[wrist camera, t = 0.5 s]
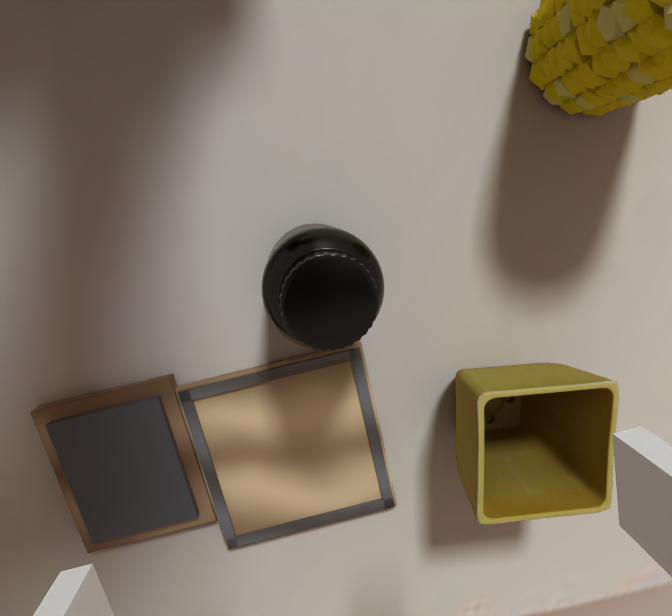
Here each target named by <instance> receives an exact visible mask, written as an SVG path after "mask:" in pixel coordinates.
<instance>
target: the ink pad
mask: <svg viewBox="0 0 672 616" xmlns="http://www.w3.org/2000/svg"><path fill="white" fill-rule="evenodd" d="M45 426H46V429H47V431H48V434H49V436H50V439H51V441H52V444H53V446H54V449H55V451H56V453H57V456H58V458H59V461H60V463H61V466H62V468H63V471H64V473H65V476H66V478H67V481H68V483H69V486H70V488H71V491H72V493H73V496H74V498H75V501H76V503H77V506H78V508H79V511H80V513H81V515H82V518H83V520H84V523H85V525H86V528H87V530H88V533H89V535H90V538H91V540H92V543H93V544H97V543H101V542H105V541H109V540H113V539H117V538H121V537H125V536H129V535H132V534H136V533H140V532H144V531H148V530H152V529H156V528H160V527H164V526H168V525H172V524H176V523H180V522H184V521H188V520H191V519H195V518H198V516H199V513H200V512H199V509H198V506H197V503H196V500H195V497H194V494H193V491H192V488H191V485H190V482H189V480H188V477H187V474H186V471H185V468H184V465H183V462H182V459H181V456H180V453H179V450H178V447H177V444H176V441H175V438H174V435H173V432H172V429H171V426H170V423H169V420H168V417H167V414H166V411H165V408H164V405H163V402H162V399H161V396H160V395H157V396H152V397H148V398H144V399H140V400H136V401H132V402H128V403H124V404H120V405H115V406H111V407H107V408H103V409H99V410H95V411H91V412H87V413H83V414H79V415H74V416H70V417H66V418H62V419H58V420H54V421H50V422H48V423H47V424H46V425H45Z"/></svg>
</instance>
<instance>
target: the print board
mask: <svg viewBox="0 0 672 616" xmlns="http://www.w3.org/2000/svg"><path fill="white" fill-rule="evenodd" d="M175 390H176V393H177V397H178V400H179V403H180V406H181V409H182V412H183V415H184V418H185V421H186V424H187V427H188V430H189V433H190V436H191V439H192V443H193V446H194V449H195V452H196V455H197V458H198V461H199V464H200V467H201V470H202V473H203V476H204V479H205V482H206V485H207V488H208V492H209V495H210V498H211V501H212V504H213V507H214V510H215V513H216V516H217V519H218V522H219V525H220V528H221V531H222V534H223V537H224V541H225V544H226V547H227V549H231V548H235V547H239V546H242V545H246V544H250V543H254V542H258V541H262V540H266V539H270V538H273V537H277V536H281V535H285V534H289V533H293V532H297V531H301V530H305V529H308V528H312V527H316V526H320V525H324V524H328V523H332V522H336V521H340V520H343V519H347V518H351V517H355V516H359V515H363V514H367V513H371V512H374V511H378V510H382V509H386V508H390V507H394V506H397V503H396V498H395V494H394V489H393V485H392V480H391V476H390V471H389V467H388V462H387V458H386V453H385V449H384V444H383V440H382V435H381V431H380V426H379V422H378V417H377V413H376V408H375V404H374V399H373V395H372V390H371V386H370V381H369V377H368V372H367V368H366V363H365V359H364V354H363V350H362V345H361V343H360V342H357V343H353V344H352V345H351V346H346V347H345V348H343V349H336V350H329V349H328V350H324V351H320V352H315V353H311V354H307V355H303V356H299V357H295V358H291V359H287V360H283V361H278V362H274V363H270V364H266V365H262V366H258V367H254V368H250V369H246V370H241V371H237V372H233V373H229V374H225V375H221V376H217V377H213V378H209V379H204V380H200V381H196V382H192V383H188V384H184V385H180V386H177V387H176V389H175Z"/></svg>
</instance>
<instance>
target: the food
mask: <svg viewBox="0 0 672 616" xmlns="http://www.w3.org/2000/svg"><path fill="white" fill-rule="evenodd" d="M530 34H531V36H530V37H529V40H528V44H527V49H526V54H525V58H526V59H528V60H529V61H530V62H532V67H531V72H530V76H529V80H531V81H532V82H533V83H534V84H535V85H536V86H538V87H539V88H540V89H541V90H542V91H543V90H544V89H545V90H544V94H543V98H544V99H546V100H547V101H548V102H549V103H550V104H551V105H559V106H560V107H561V108H562V109H563V110H565V111H566V112H567V113H569V114H570V115H572V114H575V113H579V112H582V114H588V115H597V116H602V115H603V114H605V113H607V112H609V111H612V110H615V109H617V108H619V107H620V108H621V107H623V106H629V107H630V106H632V105H633V104H634V103H635V102H638V101H641V100H645V99H647V98H649V97H651V96H653V95H656V94H658V95H661V94H662V93H664V92H665V91H667V90H669V89H672V0H541V4H540V8H539V10H538V11H537V12H536V13H534V14H533V15H531V23H530Z"/></svg>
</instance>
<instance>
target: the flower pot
mask: <svg viewBox="0 0 672 616" xmlns="http://www.w3.org/2000/svg"><path fill="white" fill-rule="evenodd" d="M455 382H456V460H457V466H458V471H459V474H460V477H461V480H462V483H463V485H464V488H465V490H466V493H467V495H468V498H469V500H470V503H471V505H472V508H473V510H474V513H475V515H476V518H477V520H478V522H479V523H480V524H483V525H490V524H500V523H509V522H516V521H524V520H532V519H540V518H549V517H559V516H571V515H580V514H589V513H597V512H601V511H604V510H607V509H609V508H610V506H611V501H612V486H613V457H614V446H613V433H615V431H616V423H617V412H618V402H619V389H618V383H617V382H616V381H612V380H610V379H607V378H604V377H601V376H598V375H595V374H592V373H589V372H586V371H583V370H580V369H576V368H573V367H570V366H567V365H562V364H556V363H532V364H521V365H510V366H498V367H486V368H473V369H462V370H459V371H458V372H457V373H456V379H455ZM510 396H513V399H512V400H511V401H507V400H506V398H507V397H510ZM488 416H493V420H492V421H491V422H488V421H487V420H486V419H487V417H488Z"/></svg>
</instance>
